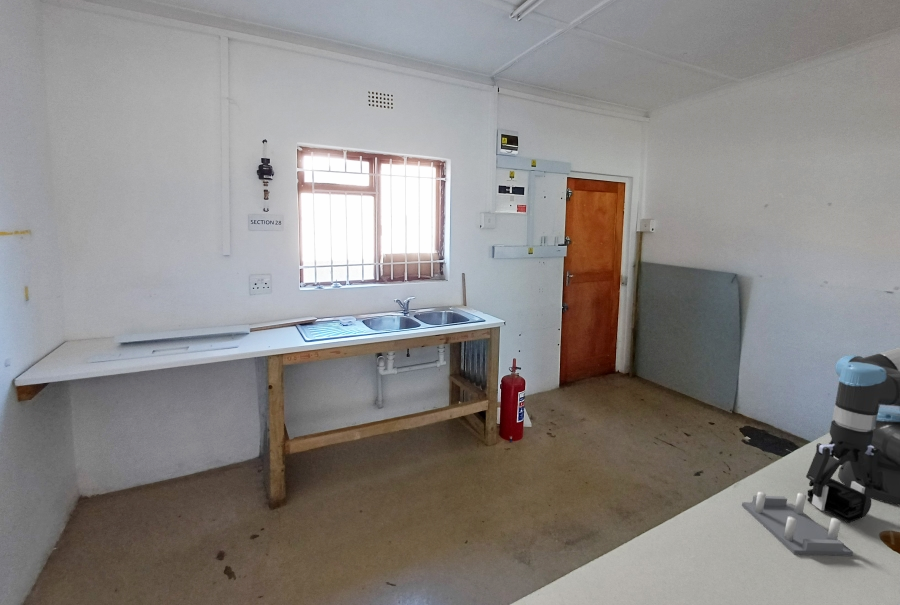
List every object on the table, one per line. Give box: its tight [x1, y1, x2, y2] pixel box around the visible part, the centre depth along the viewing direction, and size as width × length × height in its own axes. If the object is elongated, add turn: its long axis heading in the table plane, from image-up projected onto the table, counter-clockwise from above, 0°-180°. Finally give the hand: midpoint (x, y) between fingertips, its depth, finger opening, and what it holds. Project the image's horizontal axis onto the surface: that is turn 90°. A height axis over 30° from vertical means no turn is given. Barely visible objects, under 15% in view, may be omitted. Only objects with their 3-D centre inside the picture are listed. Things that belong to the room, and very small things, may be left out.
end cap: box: [806, 477, 872, 524], centre depth 104 cm, size 10×7×7 cm
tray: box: [741, 491, 854, 557], centre depth 97 cm, size 13×16×6 cm
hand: (835, 507), depth 105 cm, fingers closed on end cap, 8 cm apart
